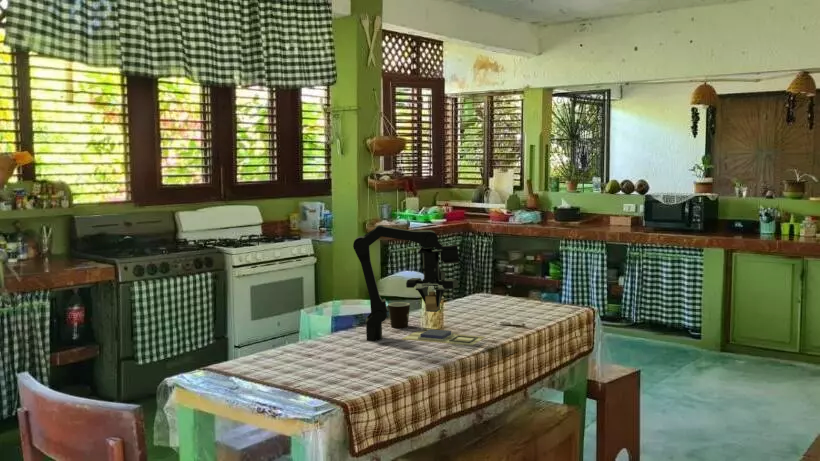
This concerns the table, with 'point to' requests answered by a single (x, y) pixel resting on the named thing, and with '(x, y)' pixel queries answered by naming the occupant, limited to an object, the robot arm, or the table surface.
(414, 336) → the station board
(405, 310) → the coffee mug
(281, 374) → the table surface
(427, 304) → the stamp
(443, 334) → the ink pad
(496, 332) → the table surface
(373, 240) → the robot arm
